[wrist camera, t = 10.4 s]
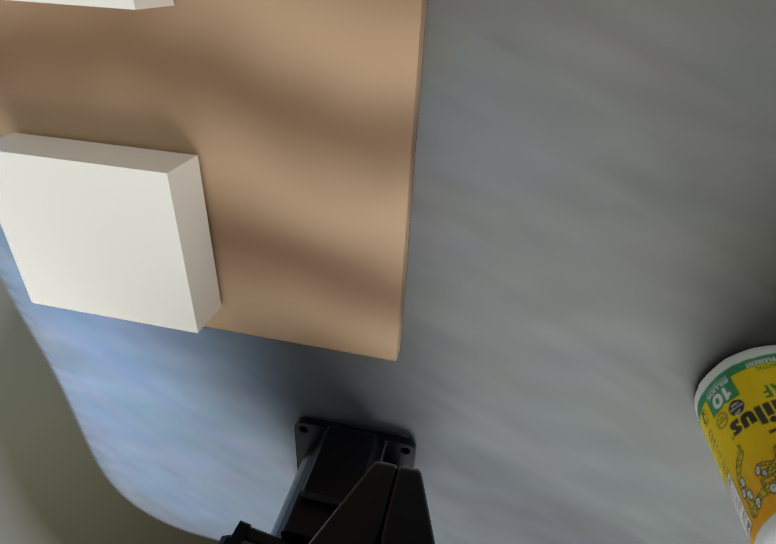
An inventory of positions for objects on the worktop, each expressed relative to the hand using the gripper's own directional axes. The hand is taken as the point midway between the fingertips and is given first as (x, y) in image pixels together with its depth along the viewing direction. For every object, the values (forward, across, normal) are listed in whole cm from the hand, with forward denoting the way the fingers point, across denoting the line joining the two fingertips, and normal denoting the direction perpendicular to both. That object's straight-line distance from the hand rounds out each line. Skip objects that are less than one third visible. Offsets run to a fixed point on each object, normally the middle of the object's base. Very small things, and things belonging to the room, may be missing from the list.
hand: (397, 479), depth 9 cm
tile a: (+10, +10, +2) cm, 14 cm away
